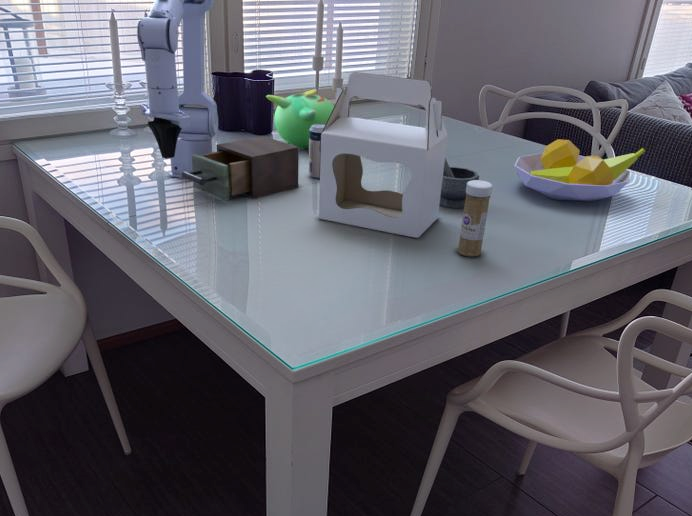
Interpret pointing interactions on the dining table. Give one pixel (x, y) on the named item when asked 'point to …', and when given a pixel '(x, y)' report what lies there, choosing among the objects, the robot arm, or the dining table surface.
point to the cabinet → (267, 163)
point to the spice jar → (315, 149)
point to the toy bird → (300, 115)
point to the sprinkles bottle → (474, 217)
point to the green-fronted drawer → (220, 174)
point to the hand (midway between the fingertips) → (168, 157)
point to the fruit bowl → (574, 172)
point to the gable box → (382, 158)
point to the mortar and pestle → (455, 185)
